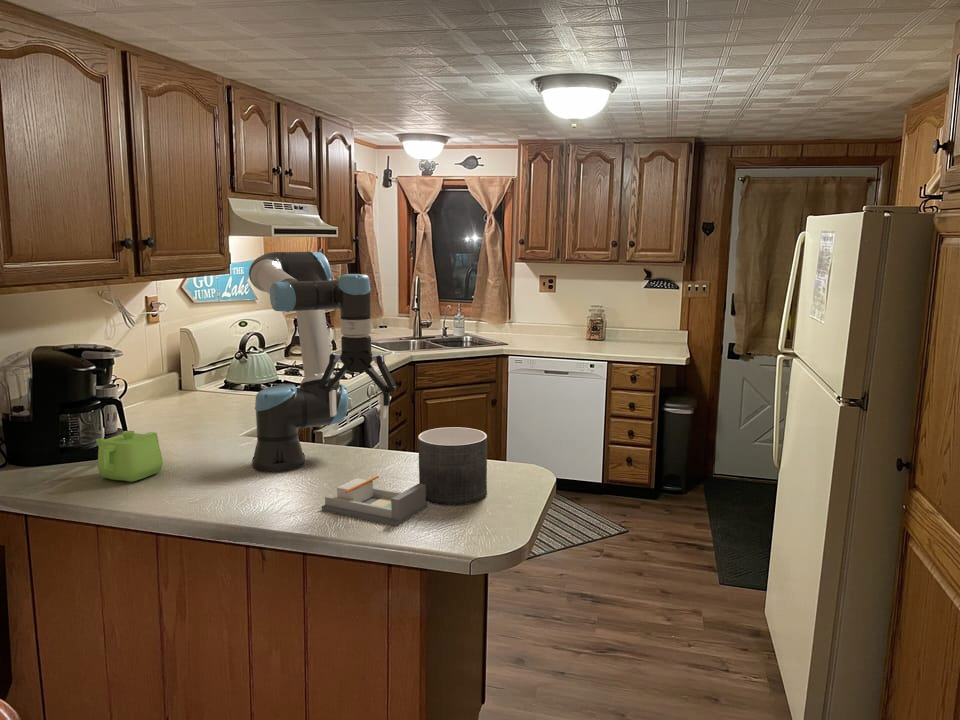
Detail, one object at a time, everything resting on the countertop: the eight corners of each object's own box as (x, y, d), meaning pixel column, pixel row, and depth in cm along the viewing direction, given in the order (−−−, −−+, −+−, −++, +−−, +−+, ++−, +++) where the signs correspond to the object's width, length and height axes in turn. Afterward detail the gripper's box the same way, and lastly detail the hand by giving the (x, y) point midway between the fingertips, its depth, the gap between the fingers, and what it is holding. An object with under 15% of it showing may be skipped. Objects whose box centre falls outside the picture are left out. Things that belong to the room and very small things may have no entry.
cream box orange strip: (327, 505, 178) (327, 487, 177) (359, 489, 189) (359, 472, 188) (347, 509, 175) (347, 491, 174) (379, 493, 186) (378, 476, 186)
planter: (437, 479, 201) (436, 424, 199) (497, 487, 195) (497, 431, 192) (406, 500, 185) (405, 440, 183) (470, 510, 178) (470, 448, 176)
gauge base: (321, 510, 178) (321, 486, 177) (356, 492, 191) (355, 470, 190) (396, 526, 168) (396, 501, 167) (427, 506, 181) (427, 483, 180)
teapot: (71, 482, 199) (66, 436, 197) (129, 462, 218) (125, 420, 215) (123, 490, 193) (119, 443, 191) (177, 468, 211) (174, 425, 209)
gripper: (303, 336, 182) (306, 418, 186) (399, 338, 178) (400, 422, 182) (315, 332, 190) (318, 411, 193) (407, 334, 185) (408, 415, 189)
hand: (358, 416), depth 187 cm, fingers open, 13 cm apart
